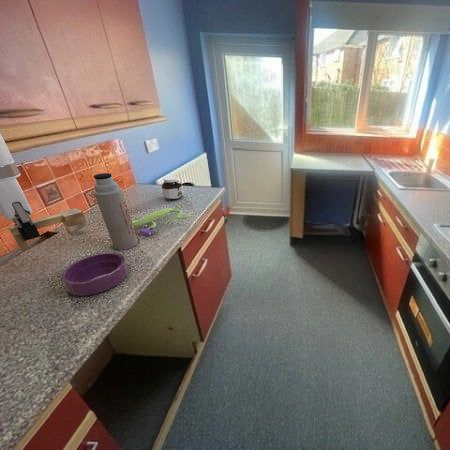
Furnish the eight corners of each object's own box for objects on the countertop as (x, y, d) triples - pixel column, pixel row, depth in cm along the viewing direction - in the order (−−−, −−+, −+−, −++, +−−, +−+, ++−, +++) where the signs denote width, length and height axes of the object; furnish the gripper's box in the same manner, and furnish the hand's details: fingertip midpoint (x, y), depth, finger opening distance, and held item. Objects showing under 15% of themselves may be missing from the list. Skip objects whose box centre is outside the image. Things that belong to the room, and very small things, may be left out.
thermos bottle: (142, 239, 101) (121, 171, 88) (130, 250, 94) (106, 178, 81) (122, 238, 101) (98, 170, 88) (109, 249, 94) (81, 177, 81)
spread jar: (170, 202, 134) (166, 181, 129) (158, 197, 139) (153, 177, 134) (189, 196, 144) (186, 176, 138) (177, 191, 149) (173, 172, 143)
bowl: (81, 305, 70) (74, 291, 67) (59, 283, 77) (52, 270, 75) (138, 275, 82) (134, 263, 79) (115, 259, 89) (110, 247, 86)
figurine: (199, 223, 115) (197, 212, 112) (132, 241, 99) (128, 229, 97) (185, 209, 127) (183, 199, 125) (124, 224, 111) (120, 212, 109)
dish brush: (24, 253, 67) (11, 231, 64) (18, 247, 69) (6, 225, 66) (90, 231, 79) (82, 211, 75) (84, 227, 81) (76, 207, 78)
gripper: (-35, 168, 61) (3, 233, 70) (-20, 182, 54) (20, 252, 63) (9, 163, 67) (39, 223, 76) (27, 175, 60) (58, 240, 68)
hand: (30, 236), depth 69 cm, fingers closed on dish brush
